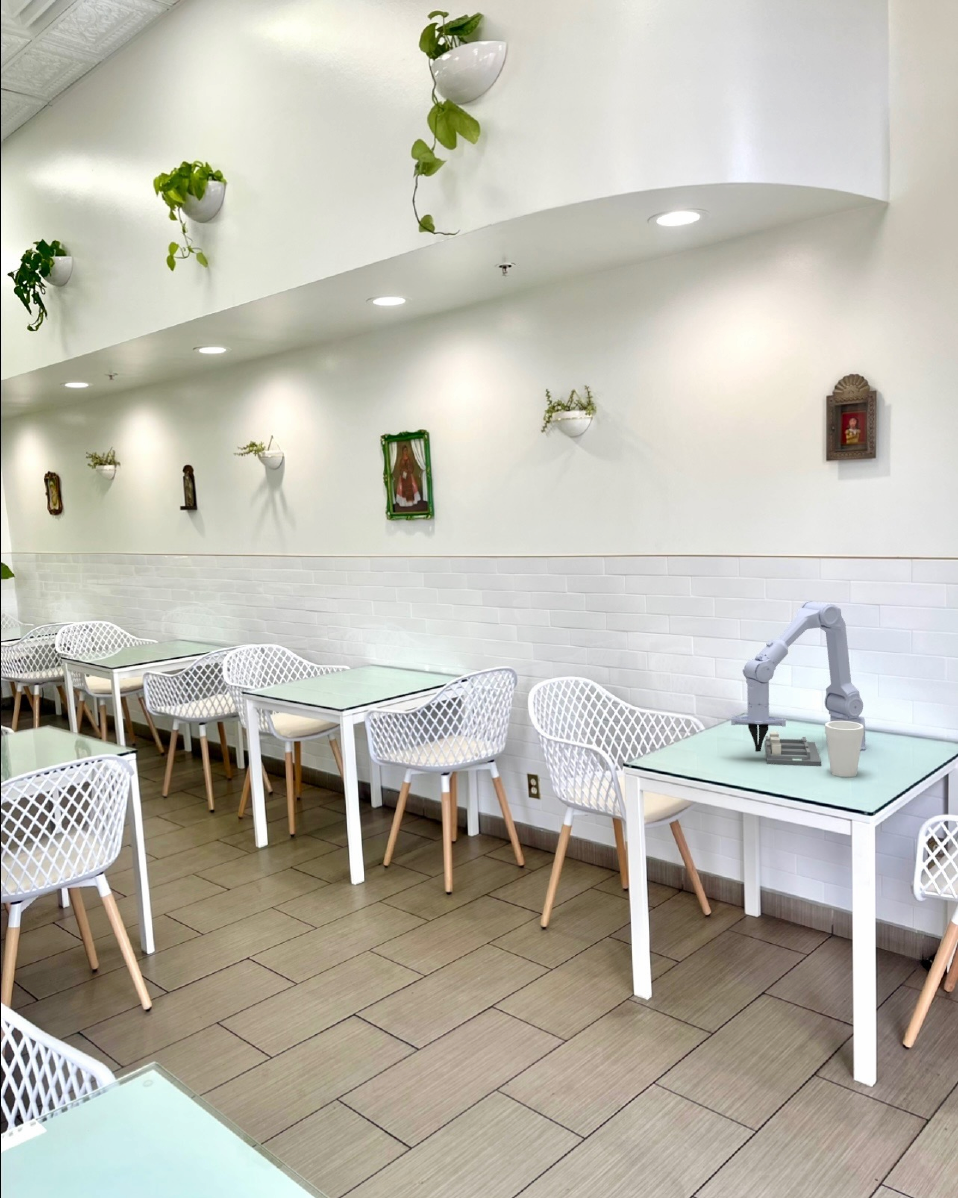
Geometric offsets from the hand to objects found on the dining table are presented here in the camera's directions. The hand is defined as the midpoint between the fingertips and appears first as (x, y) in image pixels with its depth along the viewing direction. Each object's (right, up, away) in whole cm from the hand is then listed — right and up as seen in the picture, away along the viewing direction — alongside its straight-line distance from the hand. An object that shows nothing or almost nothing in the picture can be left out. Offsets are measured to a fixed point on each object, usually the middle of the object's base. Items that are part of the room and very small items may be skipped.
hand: (758, 750), depth 264 cm
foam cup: (+18, -4, -15) cm, 24 cm away
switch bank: (+11, -2, +4) cm, 11 cm away
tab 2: (+6, 0, +5) cm, 8 cm away
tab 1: (+8, 0, +10) cm, 13 cm away
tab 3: (+5, -1, -1) cm, 5 cm away
